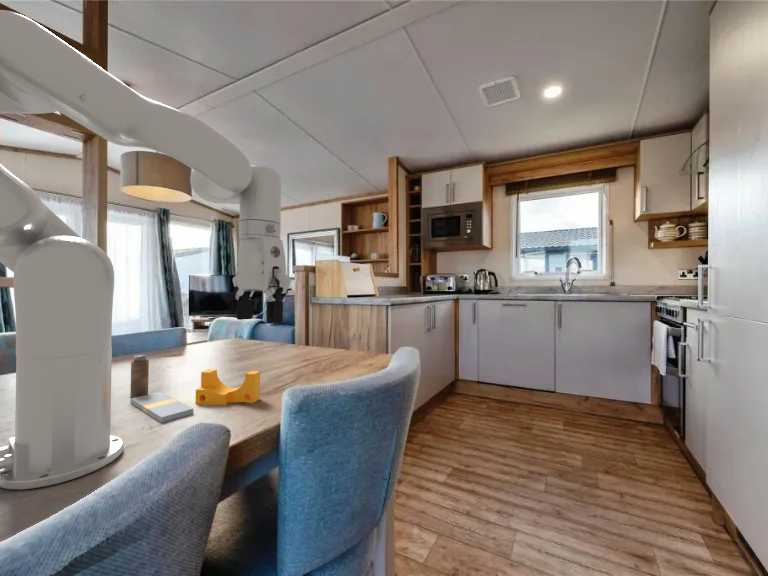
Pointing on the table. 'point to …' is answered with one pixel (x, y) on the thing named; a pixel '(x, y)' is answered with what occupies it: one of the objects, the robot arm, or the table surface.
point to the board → (162, 406)
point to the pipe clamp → (227, 389)
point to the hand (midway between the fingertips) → (259, 320)
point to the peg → (139, 376)
